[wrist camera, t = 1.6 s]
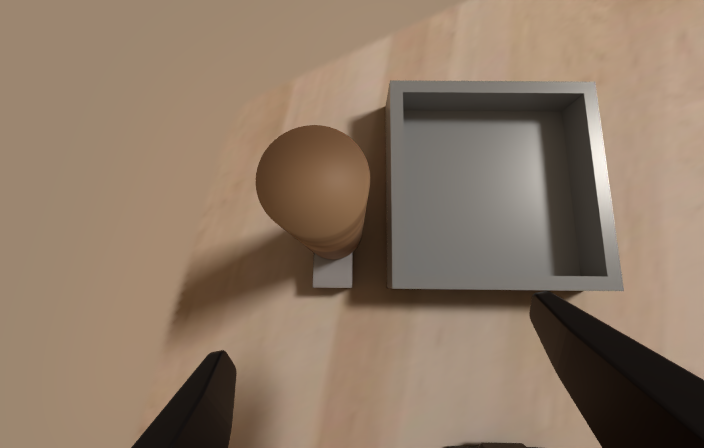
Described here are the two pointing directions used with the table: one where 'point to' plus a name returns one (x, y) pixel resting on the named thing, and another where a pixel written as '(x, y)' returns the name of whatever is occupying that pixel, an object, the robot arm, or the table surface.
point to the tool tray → (498, 187)
